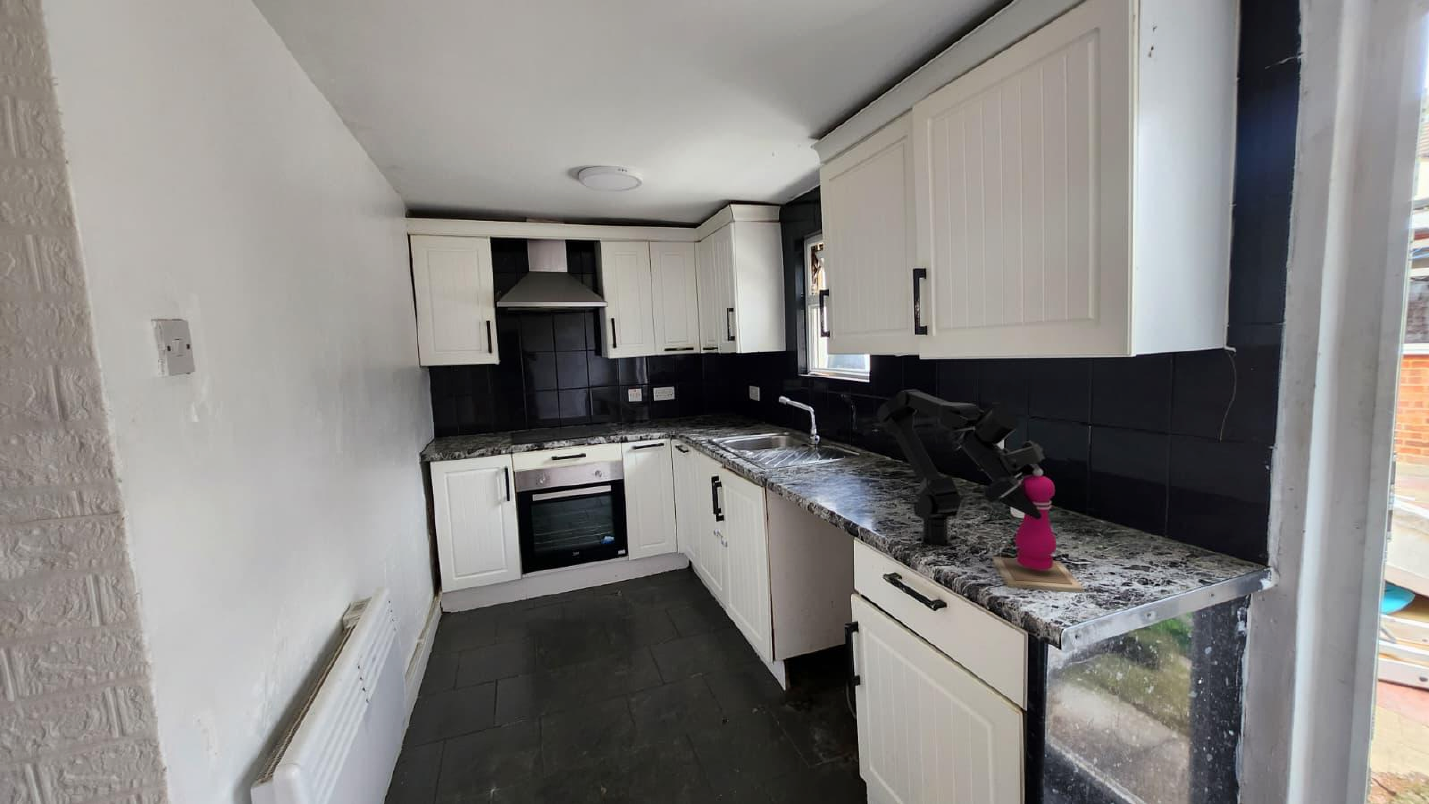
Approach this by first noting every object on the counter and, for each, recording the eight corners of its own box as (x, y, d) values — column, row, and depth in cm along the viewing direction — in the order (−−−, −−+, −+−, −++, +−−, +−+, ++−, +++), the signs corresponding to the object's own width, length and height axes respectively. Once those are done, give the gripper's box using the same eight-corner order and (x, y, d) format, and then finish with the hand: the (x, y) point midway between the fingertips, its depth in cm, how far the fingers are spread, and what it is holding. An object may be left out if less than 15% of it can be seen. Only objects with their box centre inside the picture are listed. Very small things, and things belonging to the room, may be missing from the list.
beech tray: (992, 560, 117) (992, 556, 117) (1059, 564, 113) (1060, 560, 113) (1008, 587, 104) (1008, 582, 104) (1084, 592, 101) (1084, 587, 101)
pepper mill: (1040, 555, 112) (1043, 463, 110) (1064, 570, 105) (1068, 471, 103) (1007, 557, 112) (1009, 464, 110) (1028, 571, 105) (1031, 473, 103)
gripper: (1001, 437, 102) (1066, 504, 95) (1030, 423, 115) (1089, 481, 108) (959, 471, 108) (1017, 535, 102) (990, 454, 121) (1044, 511, 115)
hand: (1044, 514), depth 106 cm, fingers closed on pepper mill, 5 cm apart
